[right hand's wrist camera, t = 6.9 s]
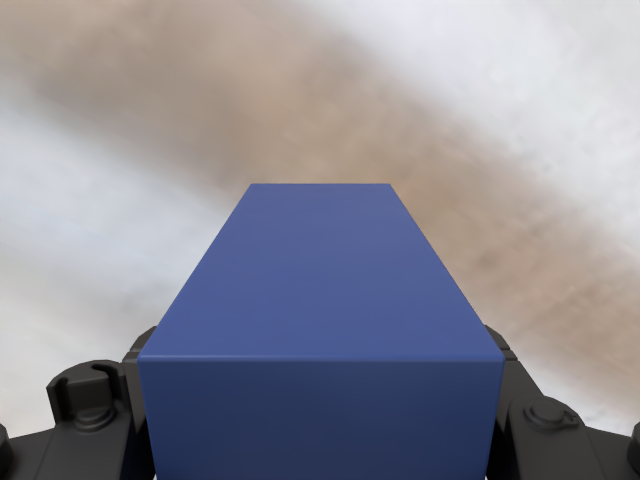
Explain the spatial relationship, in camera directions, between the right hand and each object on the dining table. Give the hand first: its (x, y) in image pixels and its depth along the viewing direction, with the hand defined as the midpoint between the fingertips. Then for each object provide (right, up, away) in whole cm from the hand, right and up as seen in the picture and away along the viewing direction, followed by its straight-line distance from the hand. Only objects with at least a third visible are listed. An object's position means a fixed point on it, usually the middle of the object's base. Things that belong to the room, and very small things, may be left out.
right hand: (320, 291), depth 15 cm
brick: (0, +1, +2) cm, 3 cm away
